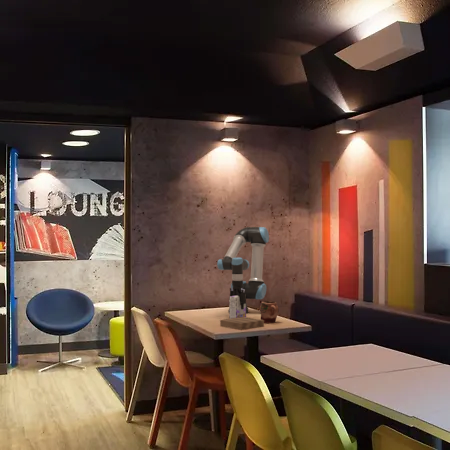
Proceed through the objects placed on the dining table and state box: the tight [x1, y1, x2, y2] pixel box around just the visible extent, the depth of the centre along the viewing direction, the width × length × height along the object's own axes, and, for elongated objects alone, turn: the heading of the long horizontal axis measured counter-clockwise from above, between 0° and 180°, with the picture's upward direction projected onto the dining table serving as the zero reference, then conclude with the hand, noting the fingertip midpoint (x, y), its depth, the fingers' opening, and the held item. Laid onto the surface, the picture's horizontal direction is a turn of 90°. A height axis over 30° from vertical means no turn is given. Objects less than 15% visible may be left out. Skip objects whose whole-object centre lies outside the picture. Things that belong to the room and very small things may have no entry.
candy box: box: [228, 295, 247, 319], centre depth 415 cm, size 14×6×16 cm, turn 149°
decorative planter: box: [258, 300, 280, 324], centre depth 406 cm, size 20×12×14 cm, turn 26°
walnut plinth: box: [219, 316, 265, 331], centre depth 391 cm, size 20×20×4 cm
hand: (237, 313), depth 415 cm, fingers closed on candy box, 7 cm apart
